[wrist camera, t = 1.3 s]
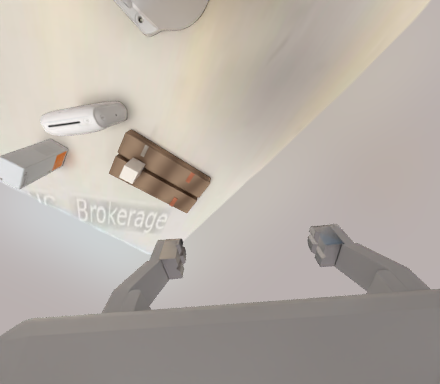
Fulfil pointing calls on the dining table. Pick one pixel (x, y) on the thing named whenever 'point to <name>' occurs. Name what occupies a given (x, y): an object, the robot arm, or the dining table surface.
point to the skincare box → (31, 163)
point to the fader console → (161, 172)
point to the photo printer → (83, 118)
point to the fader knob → (132, 170)
